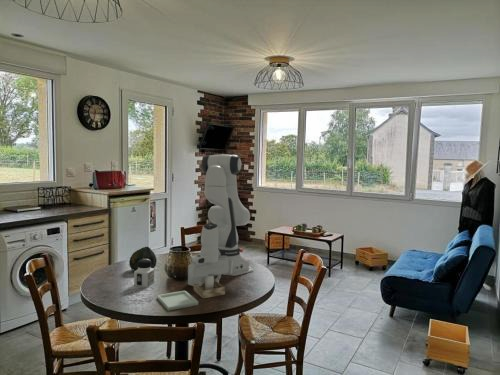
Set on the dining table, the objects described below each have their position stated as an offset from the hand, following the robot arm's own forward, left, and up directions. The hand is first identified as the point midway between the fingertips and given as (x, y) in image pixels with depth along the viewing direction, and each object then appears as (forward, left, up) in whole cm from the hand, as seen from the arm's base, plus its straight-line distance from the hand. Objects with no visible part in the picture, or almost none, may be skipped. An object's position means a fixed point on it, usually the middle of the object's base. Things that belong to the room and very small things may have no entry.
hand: (209, 284), depth 183 cm
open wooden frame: (0, 0, -4) cm, 4 cm away
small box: (+1, -13, -4) cm, 14 cm away
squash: (+19, -50, -4) cm, 54 cm away
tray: (+18, +4, -4) cm, 19 cm away
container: (+25, -26, -4) cm, 36 cm away
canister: (0, 0, -4) cm, 4 cm away
